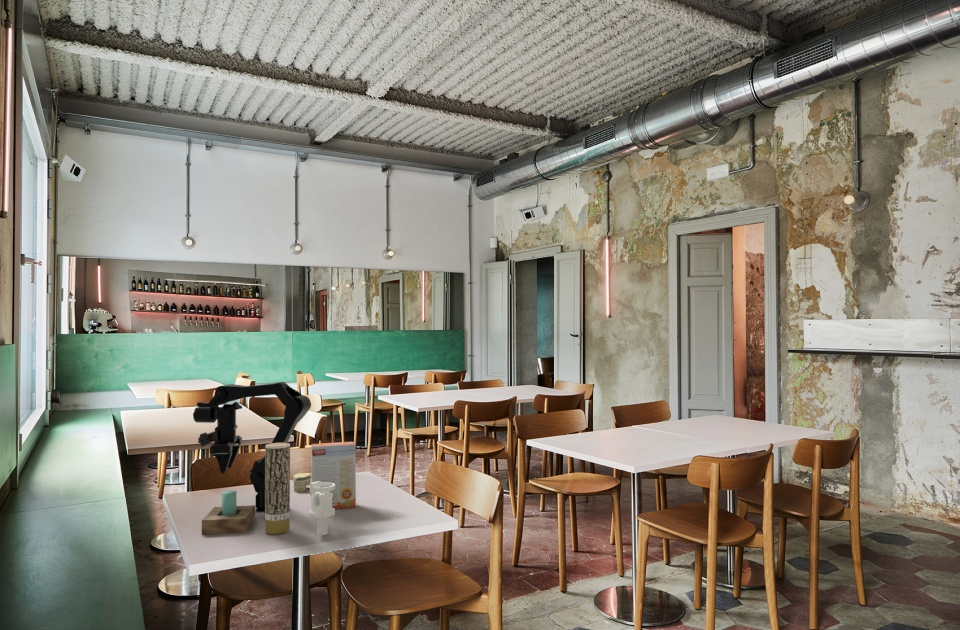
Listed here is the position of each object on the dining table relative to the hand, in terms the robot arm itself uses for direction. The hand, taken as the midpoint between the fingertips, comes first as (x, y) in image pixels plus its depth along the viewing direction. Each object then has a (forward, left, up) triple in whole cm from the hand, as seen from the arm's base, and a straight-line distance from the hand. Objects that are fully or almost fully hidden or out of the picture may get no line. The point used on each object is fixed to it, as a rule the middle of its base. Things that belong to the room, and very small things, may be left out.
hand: (226, 470), depth 213 cm
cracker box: (-35, +6, -12) cm, 38 cm away
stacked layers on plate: (-22, -21, -13) cm, 33 cm away
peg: (-6, +22, -12) cm, 26 cm away
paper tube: (-21, +30, -12) cm, 39 cm away
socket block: (-6, +22, -12) cm, 26 cm away
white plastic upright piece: (-34, +34, -12) cm, 50 cm away
